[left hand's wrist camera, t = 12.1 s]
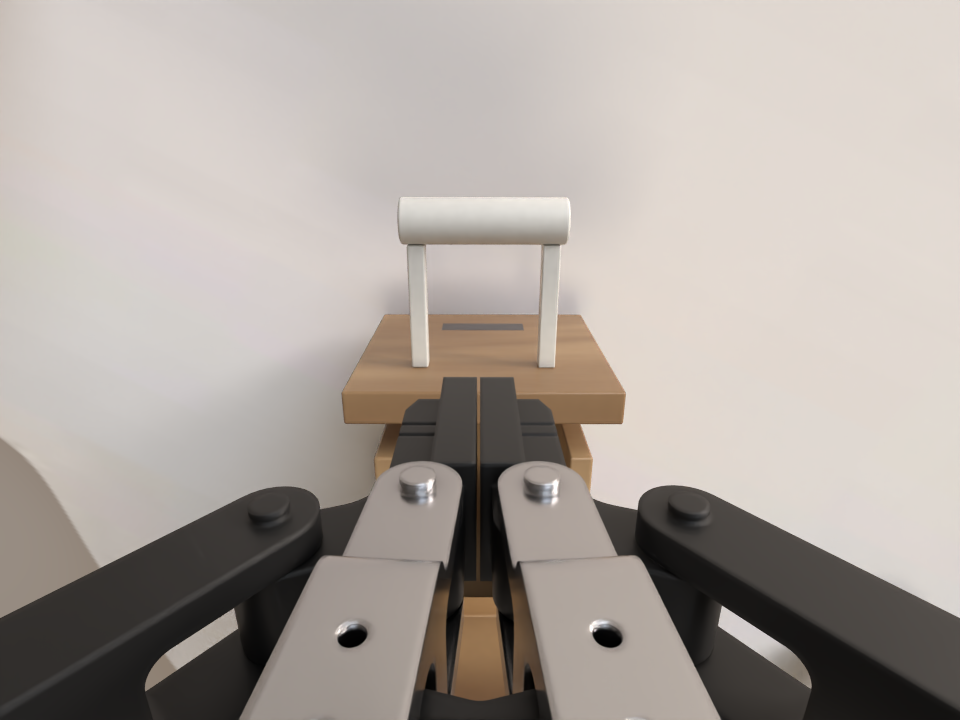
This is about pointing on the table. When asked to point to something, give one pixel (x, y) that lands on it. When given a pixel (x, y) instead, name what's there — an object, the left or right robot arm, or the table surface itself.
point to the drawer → (485, 336)
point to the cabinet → (479, 652)
